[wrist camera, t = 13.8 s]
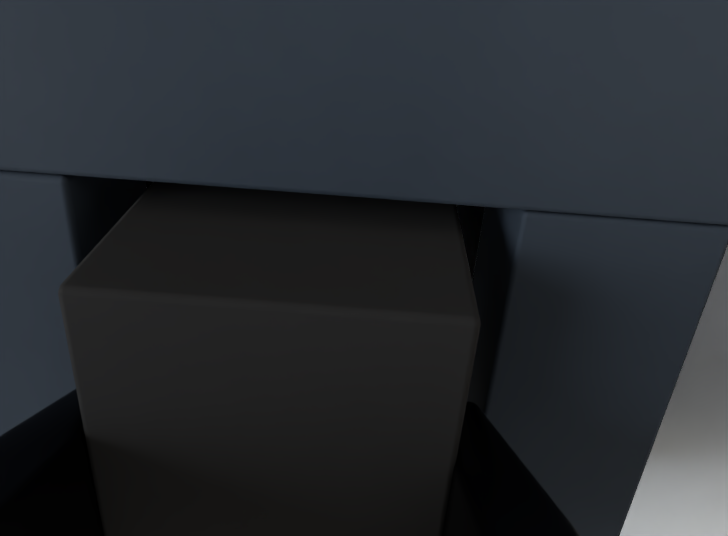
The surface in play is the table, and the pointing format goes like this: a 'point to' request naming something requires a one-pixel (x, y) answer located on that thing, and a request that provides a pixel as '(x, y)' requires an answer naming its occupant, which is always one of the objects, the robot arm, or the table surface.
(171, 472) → the black rectangular block
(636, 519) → the table surface
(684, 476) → the table surface
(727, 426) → the table surface
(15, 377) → the slotted block
